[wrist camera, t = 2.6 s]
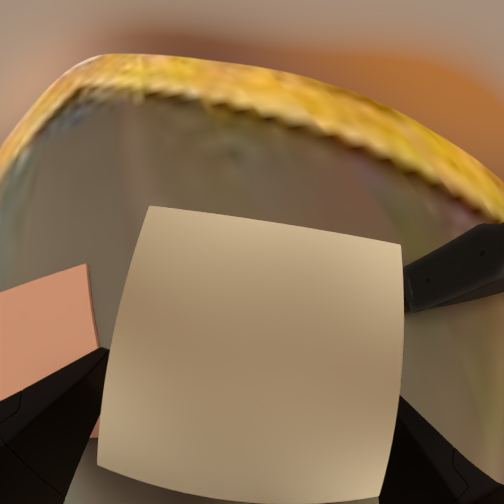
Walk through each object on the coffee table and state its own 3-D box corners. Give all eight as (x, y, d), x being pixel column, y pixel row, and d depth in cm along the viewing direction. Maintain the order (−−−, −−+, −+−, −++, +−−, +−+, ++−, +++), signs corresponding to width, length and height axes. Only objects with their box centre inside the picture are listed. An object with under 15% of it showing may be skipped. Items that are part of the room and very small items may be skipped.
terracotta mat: (123, 434, 14) (121, 435, 13) (8, 435, 12) (5, 435, 11) (88, 265, 18) (86, 263, 18) (-12, 298, 16) (-15, 297, 16)
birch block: (278, 409, 15) (378, 496, 3) (196, 398, 15) (96, 464, 3) (288, 332, 17) (400, 245, 5) (208, 320, 17) (149, 205, 5)
